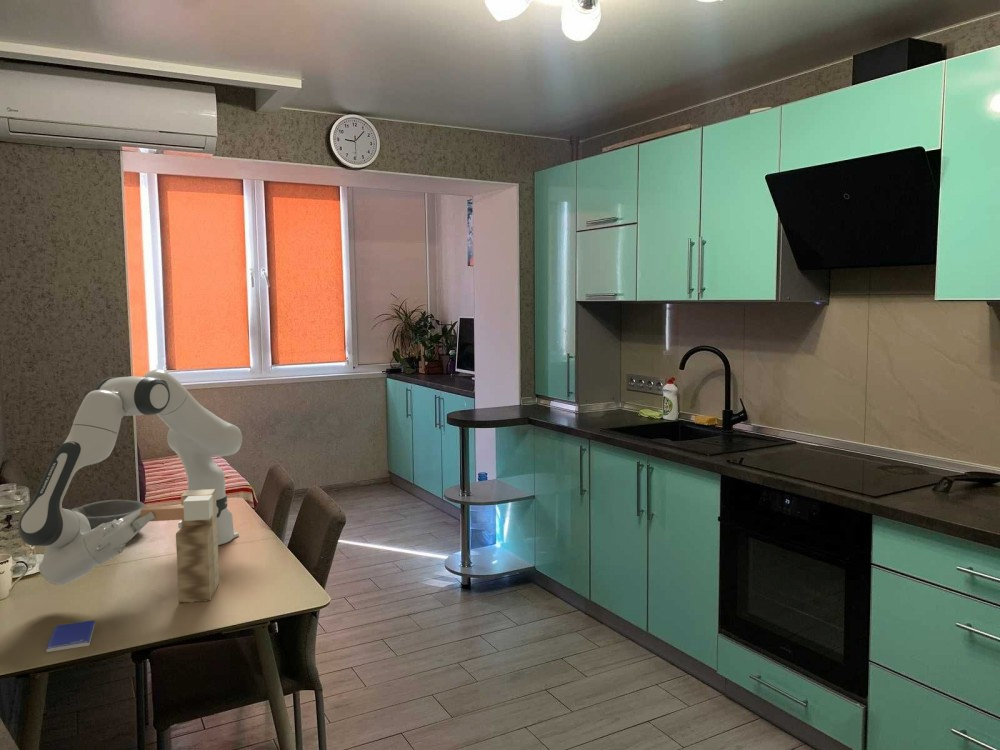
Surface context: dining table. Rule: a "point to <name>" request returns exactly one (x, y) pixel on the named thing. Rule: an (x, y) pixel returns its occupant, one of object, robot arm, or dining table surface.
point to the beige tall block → (198, 554)
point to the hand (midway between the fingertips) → (156, 511)
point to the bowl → (108, 510)
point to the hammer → (184, 509)
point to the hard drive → (71, 636)
